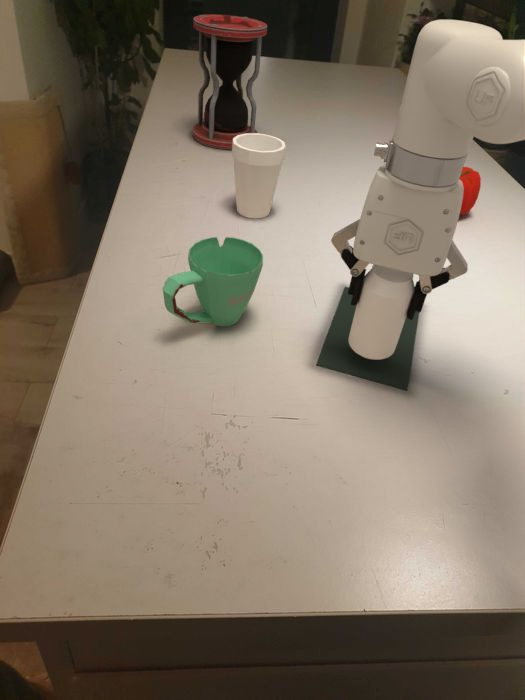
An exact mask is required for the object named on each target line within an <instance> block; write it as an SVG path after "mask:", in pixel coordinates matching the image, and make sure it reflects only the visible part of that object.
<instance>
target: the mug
mask: <svg viewBox="0 0 525 700" xmlns="http://www.w3.org/2000/svg"><path fill="white" fill-rule="evenodd" d="M187 263H188V266H189V270H188V271H182V272H178V273H175V274H173V275H170V276H169V277H167V279H166V280H165V283H164V284H163V286H162V294H163V301H164V307H165V309H166V311H167V312H169V313H170V314H172V315H173V316H175V317H178V318H179V319H181V320H182V321H184V322H187V323H189V324H204V323H205V324H206V323H208V324H209V323H210V324H211V325H214V326H216V327H230V326H234V325H236V324H237V323H238V322H239V321H240V318H241V317H242V315H243V313H244V312H245V311H246V309H247V306H248V305H249V303H250V301H251V298H252V296H253V295H254V292H255V289H256V287H257V283H258V281H259V278H260V275H261V272H262V269H263V265H264V254H263V253H262V251H261V249H260V248H259V247H257V246H256V245H254V244H253V243H251V242H249V241H247V240H245V239H242V238H237V237H232V236H225V237H224V240H223V244H222V245H220V242H219V238H218V237H217V236H211V237H208V238H203V239H200V240H199V241H197V242H194V244H193V245H191V246H190V248H189V249H188V253H187ZM191 285H193V287H194V290H195V294H196V296H197V299H198V303H199V305H200V308H201V310H202V311H189V312H186V311H185V310H183V309H181V308H180V307H179V306H177V300H176V296H177V294H178V292H180V289H183V288H185V287H187V286H191Z"/></svg>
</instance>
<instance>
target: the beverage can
mask: <svg viewBox="0 0 525 700" xmlns="http://www.w3.org/2000/svg"><path fill="white" fill-rule="evenodd" d="M414 292H415V283H414V274H412V273H407V272H403V271H399V270H394V269H390V268H386V267H382V266H378V265H374V264H372V267H371V269H369V270H368V272H366V273H365V276H364V279H363V283H362V287H361V290H360V294H359V298H358V302H357V306H356V310H355V314H354V318H353V322H352V326H351V330H350V334H349V345H350V347H351V348H352V349H353V350H354V351H355V352H356V353H357V354H359V355H361V356H362V357H365V358H368V359H375V360H380V359H385V358H388V357H390V356H391V355H392V354H393V353H394V351H395V348H396V345H397V343H398V340H399V337H400V334H401V331H402V328H403V325H404V322H405V319H406V316H407V313H408V310H409V307H410V304H411V301H412V298H413V295H414Z"/></svg>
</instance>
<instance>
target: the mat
mask: <svg viewBox="0 0 525 700" xmlns="http://www.w3.org/2000/svg"><path fill="white" fill-rule="evenodd" d="M348 290H349V287H348V286H344V289H343V290H342V293H341V296H340V299H339V300H338V301H339V302H338V304H337V307H336V310H335V312H334V314H333V318H332V320H331V323H330V326H329V328H328V331H327V334H326V337H325V340H324V342H323V345H322V348H321V351H320V353H319V356H318V358H317V361H316V366H318V367H322V368H323V369H327V370H331V371H336V372H339V373H343V374H346V375H350V376H353V377H357V378H361V379H364V380H367V381H370V382H374V383H379V384H381V385H386V386H389V387H393V388H396V389H399V390H402V391H403V390H404V391H408V390H409V384H410V376H411V370H412V369H411V368H412V365H413V357H414V350H415V342H416V337H417V329H418V325H419V324H418V323H419V317H420V312H418V311H415V314H414V317H413V320H409V319H408V318H407V316H406V319H405V322H404V325H403V328H402V331H401V334H400V337H399V340H398V343H397V345H396V348H395V351H394V353H393V354H392V355H391V356H390V357H388V358H385V359H380V360H375V359H368V358H365V357H362V356H361V355H359V354H357V353H356V352H355V351H354V350H353V349H352V348H351V347H350V345H349V334H350V330H351V326H352V322H353V318H354V314H355V310H356V306H357V305H355V306H354V305H351V301H352V297H353V295H350V294H348Z"/></svg>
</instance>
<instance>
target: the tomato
mask: <svg viewBox="0 0 525 700" xmlns="http://www.w3.org/2000/svg"><path fill="white" fill-rule="evenodd" d="M459 179H460V180H461V181H462V183H463V187H464V192H463V200H462V205H461V210H460V214H459V216H461V215H466V214H467V213H469V212H471V210H472V209H473V208H474V207H475V205H476V202H477V200H478V198H479V195H480V191H481V187H482V186H481V183H482V182H481V180H482V178H481V175H480V172H479V171H477V170H474V169H473V168H471V167H469V166H463V169H462V172H461V175H460V178H459Z"/></svg>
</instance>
